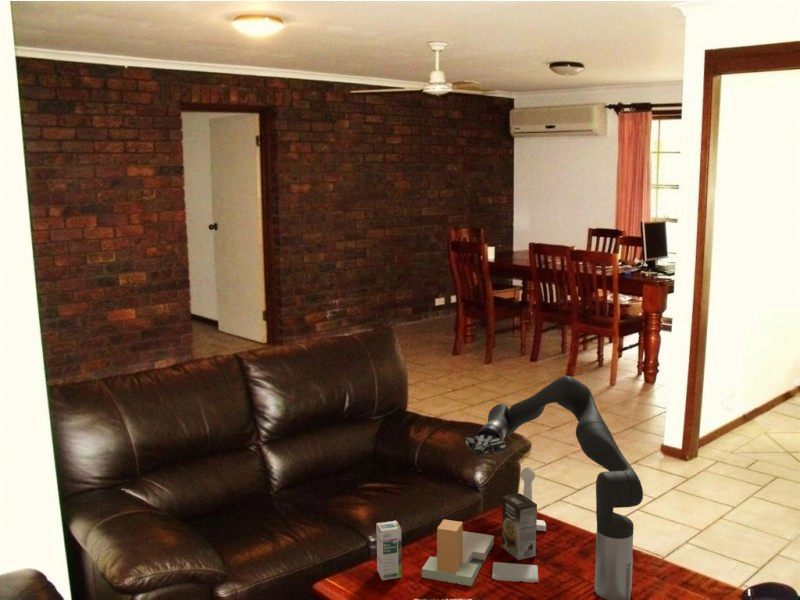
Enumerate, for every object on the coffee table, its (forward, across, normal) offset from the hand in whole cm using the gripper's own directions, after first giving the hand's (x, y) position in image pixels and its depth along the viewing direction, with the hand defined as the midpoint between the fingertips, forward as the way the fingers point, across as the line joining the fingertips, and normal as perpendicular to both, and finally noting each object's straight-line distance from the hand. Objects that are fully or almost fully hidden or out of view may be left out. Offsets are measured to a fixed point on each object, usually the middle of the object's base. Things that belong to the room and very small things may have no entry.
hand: (478, 452), depth 230 cm
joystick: (-12, +13, +28) cm, 33 cm away
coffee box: (+2, +13, +28) cm, 31 cm away
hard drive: (+15, +15, +29) cm, 36 cm away
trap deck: (+12, -2, +28) cm, 31 cm away
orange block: (+22, -2, +26) cm, 33 cm away
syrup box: (+27, -18, +28) cm, 43 cm away
